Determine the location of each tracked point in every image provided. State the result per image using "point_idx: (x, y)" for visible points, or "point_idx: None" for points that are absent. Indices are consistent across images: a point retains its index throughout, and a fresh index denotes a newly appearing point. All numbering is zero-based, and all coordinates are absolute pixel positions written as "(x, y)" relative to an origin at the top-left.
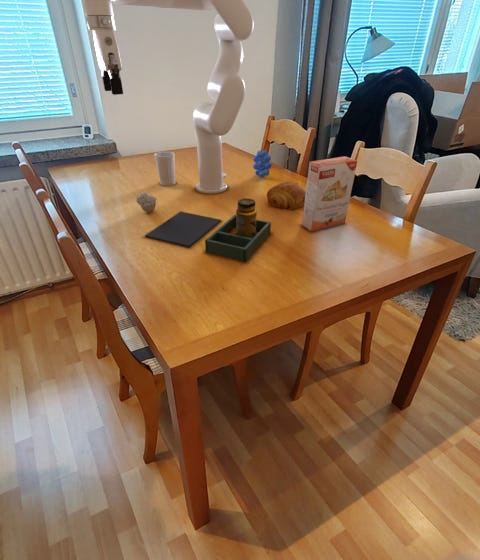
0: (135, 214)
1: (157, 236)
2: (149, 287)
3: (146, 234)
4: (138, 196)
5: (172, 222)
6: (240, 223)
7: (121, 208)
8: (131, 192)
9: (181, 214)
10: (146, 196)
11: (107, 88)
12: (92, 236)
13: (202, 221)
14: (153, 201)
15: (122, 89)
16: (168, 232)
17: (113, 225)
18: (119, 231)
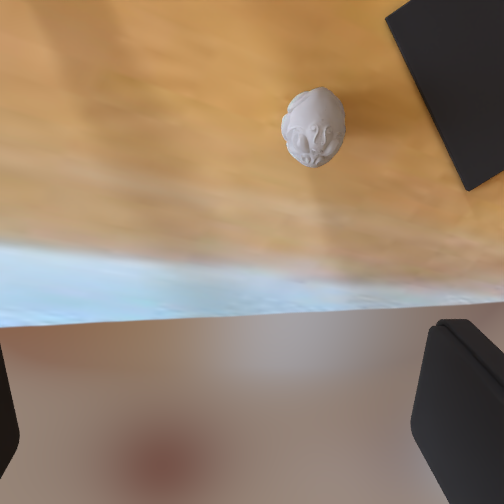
0: (302, 168)
1: (499, 163)
2: None
3: (467, 186)
4: (314, 156)
5: (448, 85)
6: None
7: (229, 194)
8: (85, 117)
9: (412, 27)
10: (334, 130)
11: (1, 438)
12: (372, 304)
13: None
14: (342, 107)
15: (494, 346)
16: (500, 125)
17: (341, 246)
18: (388, 241)
